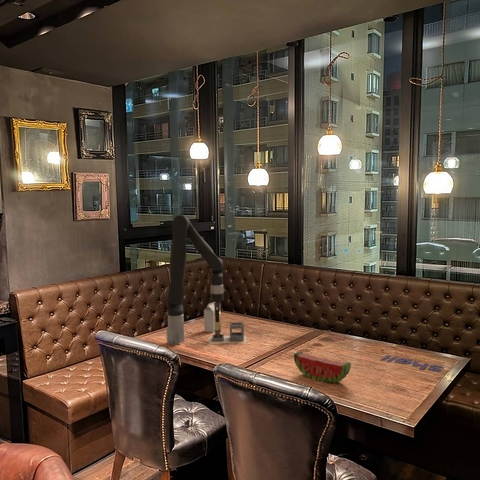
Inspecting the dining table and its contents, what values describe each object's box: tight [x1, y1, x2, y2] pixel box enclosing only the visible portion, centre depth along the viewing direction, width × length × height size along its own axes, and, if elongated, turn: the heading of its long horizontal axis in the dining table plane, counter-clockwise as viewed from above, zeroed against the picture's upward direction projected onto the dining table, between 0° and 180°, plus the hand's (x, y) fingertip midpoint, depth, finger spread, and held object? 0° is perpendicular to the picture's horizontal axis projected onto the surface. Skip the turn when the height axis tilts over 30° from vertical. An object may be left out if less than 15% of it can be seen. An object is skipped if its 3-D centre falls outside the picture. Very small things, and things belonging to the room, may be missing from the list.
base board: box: [208, 335, 247, 345], centre depth 256 cm, size 22×14×2 cm, turn 92°
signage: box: [379, 354, 445, 372], centre depth 217 cm, size 28×1×10 cm
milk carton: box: [203, 301, 215, 334], centre depth 274 cm, size 7×7×19 cm
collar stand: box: [211, 321, 245, 342], centre depth 255 cm, size 18×8×9 cm, turn 91°
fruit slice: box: [293, 350, 352, 384], centre depth 200 cm, size 26×6×10 cm, turn 52°
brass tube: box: [214, 310, 222, 338], centre depth 255 cm, size 4×4×16 cm
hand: (217, 320), depth 254 cm, fingers closed on brass tube, 3 cm apart
